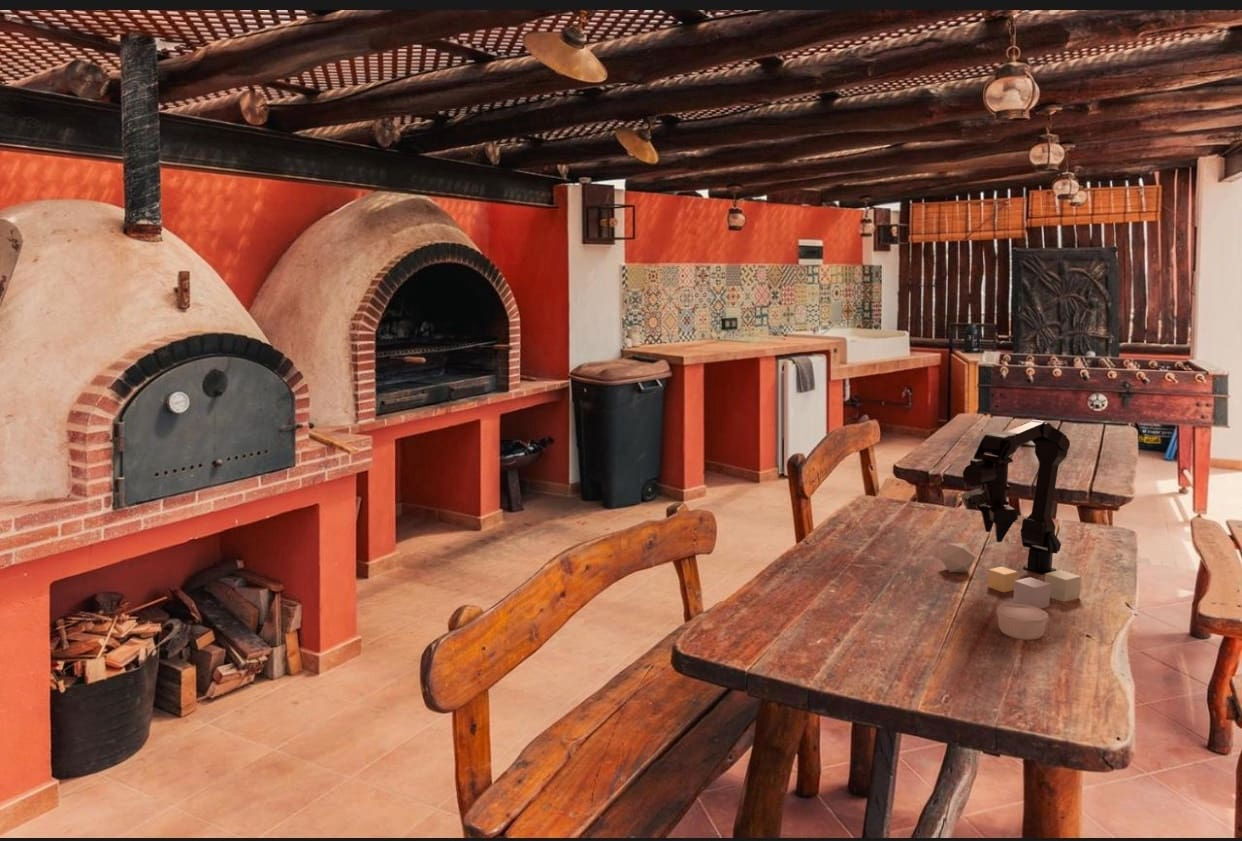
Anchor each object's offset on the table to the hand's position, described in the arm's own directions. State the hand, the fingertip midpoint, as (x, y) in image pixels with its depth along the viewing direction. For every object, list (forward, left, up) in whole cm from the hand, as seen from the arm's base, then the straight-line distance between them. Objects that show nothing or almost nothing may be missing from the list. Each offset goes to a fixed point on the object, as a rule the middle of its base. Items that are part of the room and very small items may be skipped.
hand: (993, 536), depth 245 cm
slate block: (+3, +15, -14) cm, 21 cm away
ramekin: (+21, +26, -14) cm, 37 cm away
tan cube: (-9, +15, -14) cm, 22 cm away
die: (-2, -13, -14) cm, 19 cm away
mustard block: (-1, +3, -14) cm, 14 cm away
